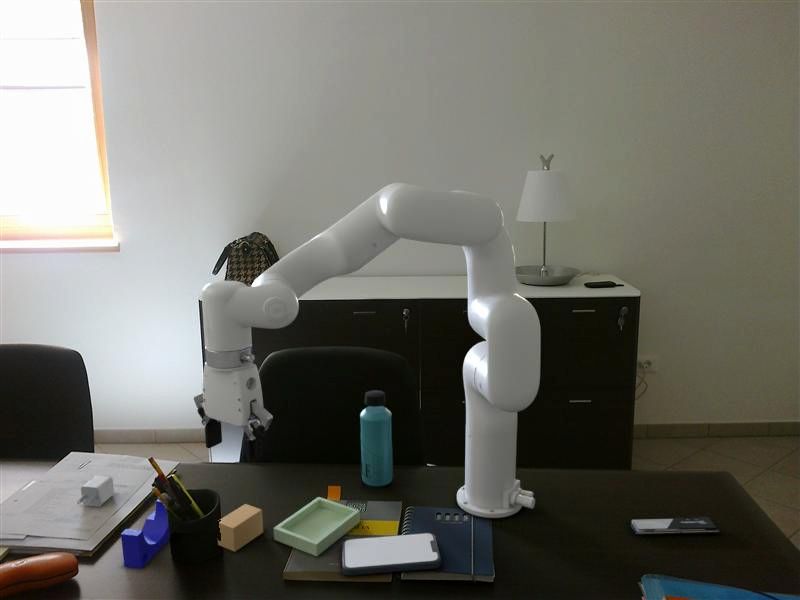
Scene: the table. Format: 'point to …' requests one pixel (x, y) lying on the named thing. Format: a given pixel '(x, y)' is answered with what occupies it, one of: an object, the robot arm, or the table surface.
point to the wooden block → (240, 527)
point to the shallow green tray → (317, 526)
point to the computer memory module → (674, 526)
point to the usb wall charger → (97, 491)
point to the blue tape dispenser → (145, 538)
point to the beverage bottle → (376, 440)
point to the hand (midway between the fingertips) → (234, 451)
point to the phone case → (390, 554)
